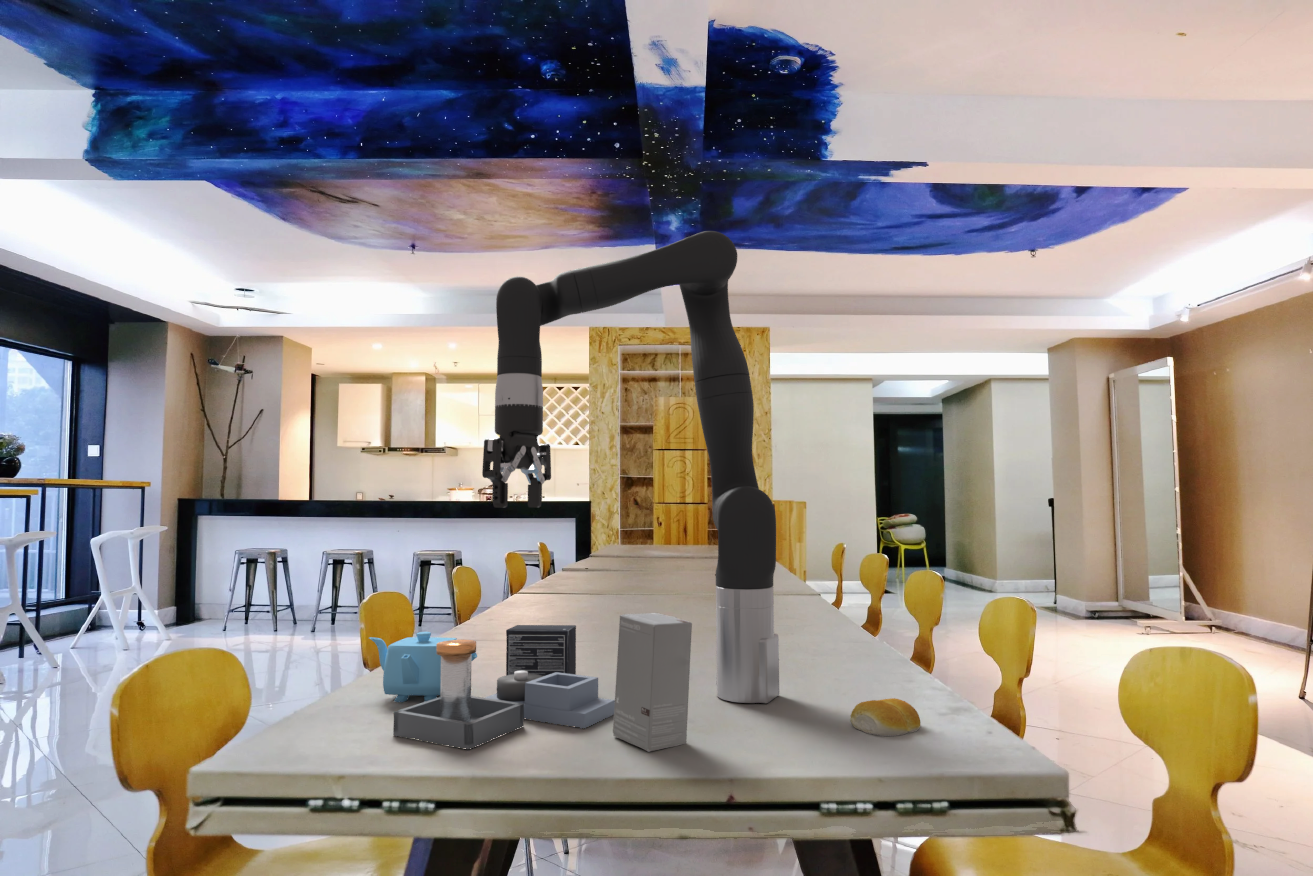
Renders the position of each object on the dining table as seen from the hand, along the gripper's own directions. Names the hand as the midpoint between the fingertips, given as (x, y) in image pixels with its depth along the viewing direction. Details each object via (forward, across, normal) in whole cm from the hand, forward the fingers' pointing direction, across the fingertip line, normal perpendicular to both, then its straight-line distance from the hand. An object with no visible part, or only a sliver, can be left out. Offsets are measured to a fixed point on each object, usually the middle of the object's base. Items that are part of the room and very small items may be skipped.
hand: (518, 507), depth 116 cm
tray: (+30, -14, -2) cm, 33 cm away
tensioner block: (+30, -2, -7) cm, 31 cm away
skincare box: (+30, -6, -27) cm, 41 cm away
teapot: (+30, -4, +16) cm, 35 cm away
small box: (+30, +8, +1) cm, 31 cm away
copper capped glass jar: (+29, -15, -2) cm, 33 cm away
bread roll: (+31, +13, -53) cm, 62 cm away
